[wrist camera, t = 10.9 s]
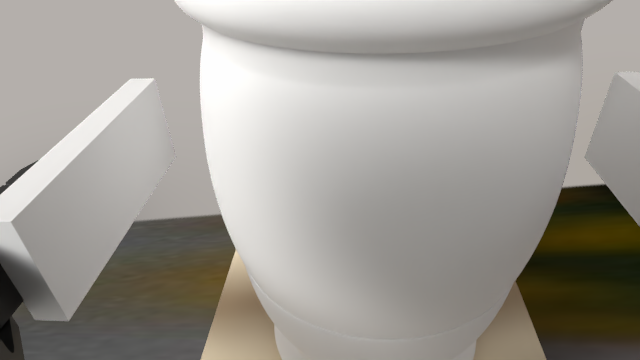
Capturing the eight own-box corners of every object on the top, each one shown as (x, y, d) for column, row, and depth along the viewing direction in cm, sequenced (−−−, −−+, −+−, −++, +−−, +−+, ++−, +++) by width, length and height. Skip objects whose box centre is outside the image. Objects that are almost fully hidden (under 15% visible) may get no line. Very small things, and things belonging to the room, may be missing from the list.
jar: (489, 256, 22) (572, -92, 14) (519, 485, 14) (777, -31, 5) (288, 233, 24) (251, -79, 16) (211, 418, 16) (45, -23, 8)
